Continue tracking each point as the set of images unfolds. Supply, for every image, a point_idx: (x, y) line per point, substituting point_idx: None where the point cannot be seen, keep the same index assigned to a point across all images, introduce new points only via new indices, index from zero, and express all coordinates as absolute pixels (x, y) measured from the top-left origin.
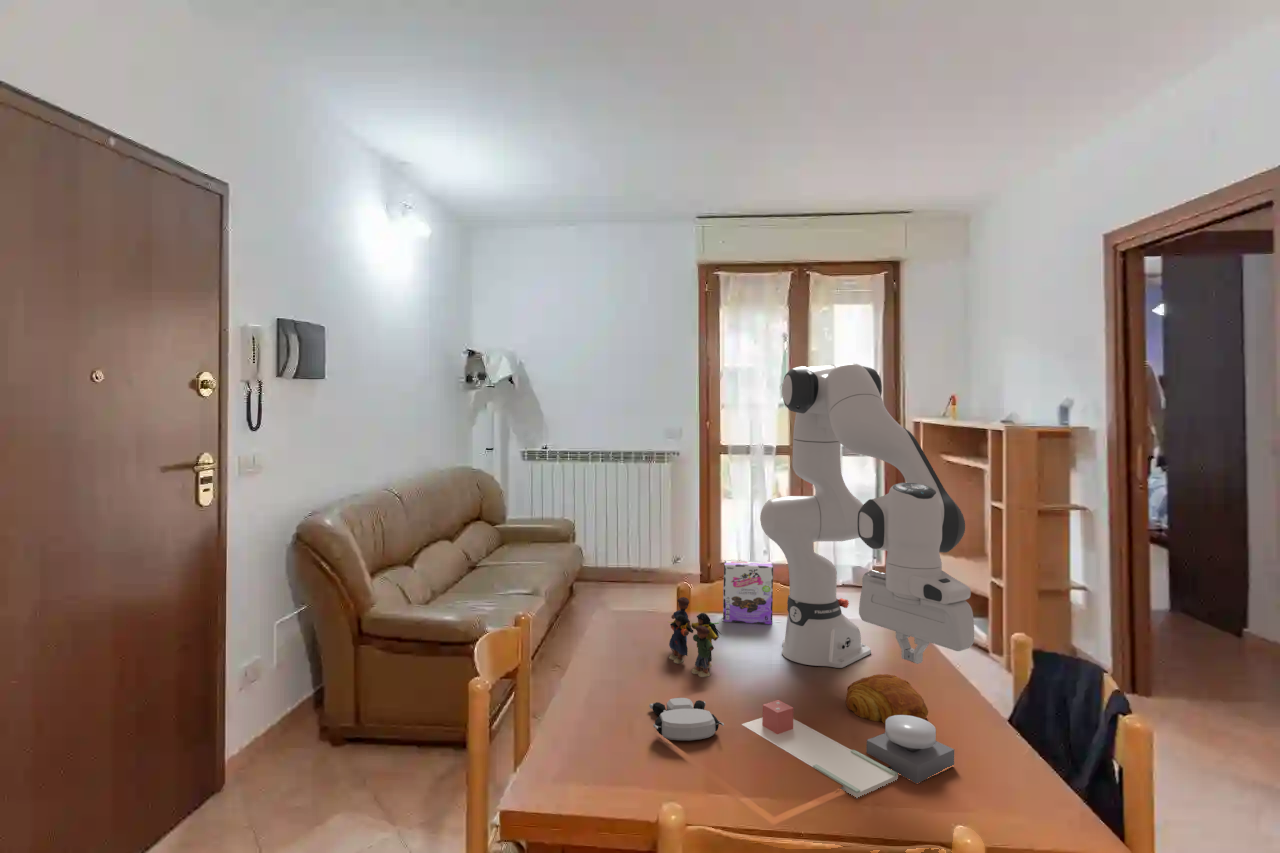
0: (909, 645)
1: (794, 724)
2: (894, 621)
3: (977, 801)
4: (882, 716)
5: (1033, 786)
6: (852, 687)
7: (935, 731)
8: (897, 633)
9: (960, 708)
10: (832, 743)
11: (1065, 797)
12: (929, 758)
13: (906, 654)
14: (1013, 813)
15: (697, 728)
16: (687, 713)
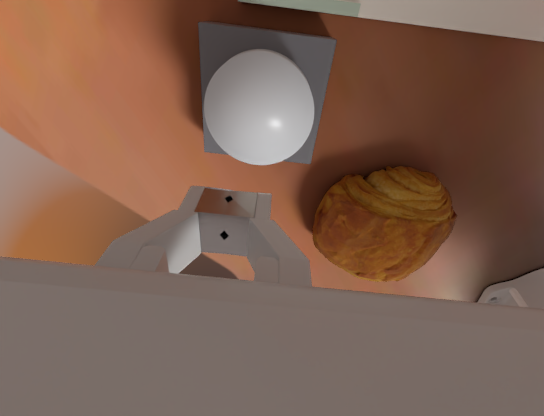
0: (252, 262)
1: (531, 13)
2: (313, 368)
3: (119, 61)
4: (362, 180)
5: (122, 174)
6: (446, 211)
7: (210, 132)
8: (297, 283)
9: None
10: (411, 6)
11: (87, 178)
12: (205, 79)
13: (241, 204)
14: (72, 75)
15: None
16: None
